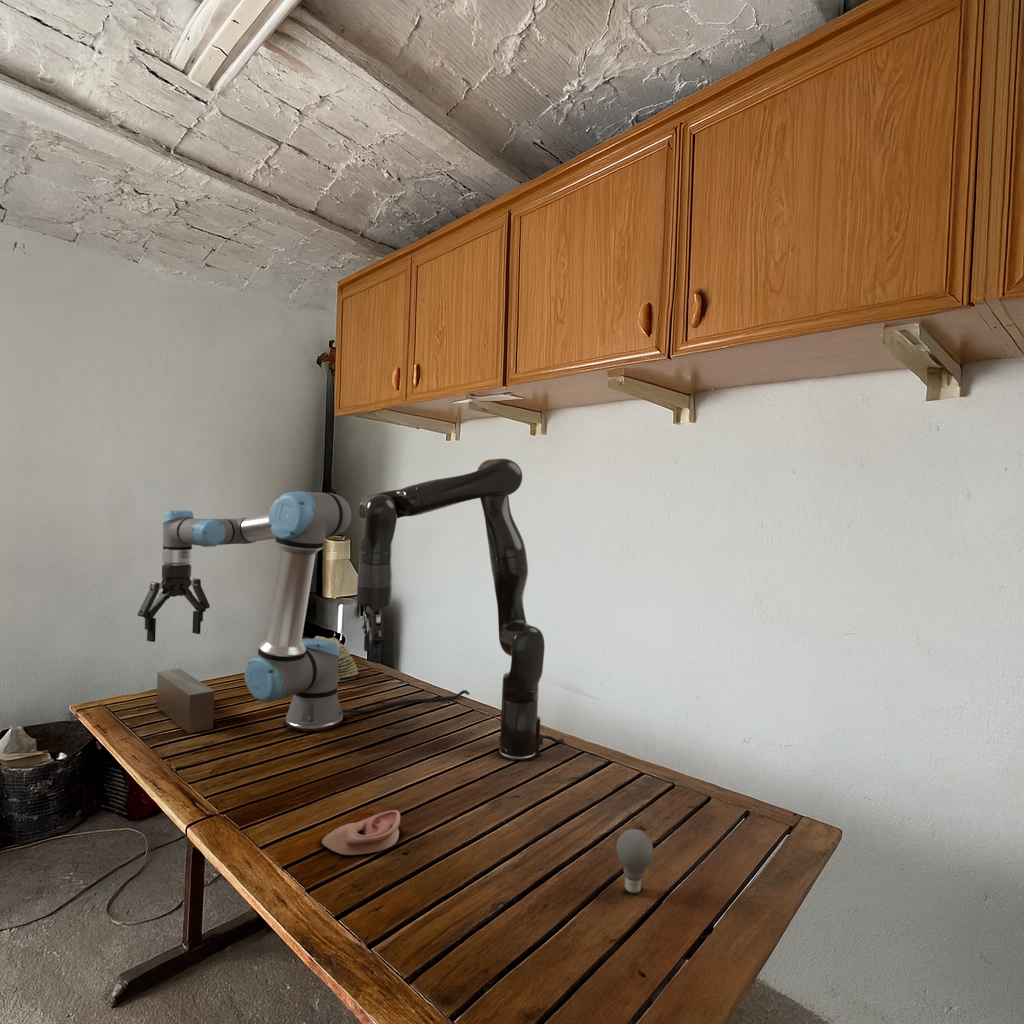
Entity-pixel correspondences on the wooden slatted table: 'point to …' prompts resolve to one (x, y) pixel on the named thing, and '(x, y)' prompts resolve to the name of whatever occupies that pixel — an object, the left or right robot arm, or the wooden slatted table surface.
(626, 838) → the light bulb
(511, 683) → the right robot arm
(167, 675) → the box
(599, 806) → the wooden slatted table surface
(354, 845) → the anatomical model
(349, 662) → the fossil
